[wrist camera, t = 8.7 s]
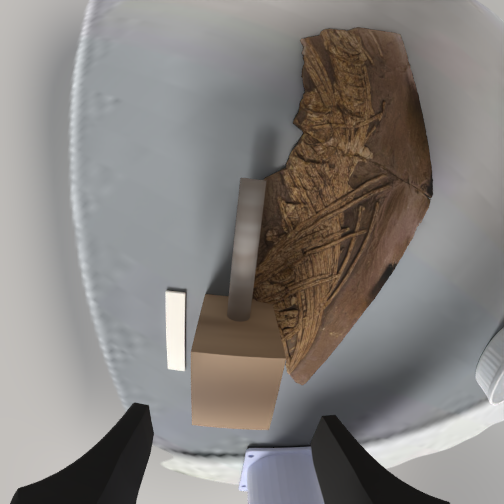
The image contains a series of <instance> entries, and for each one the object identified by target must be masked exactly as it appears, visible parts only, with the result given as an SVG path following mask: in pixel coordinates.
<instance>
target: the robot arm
mask: <svg viewBox="0 0 504 504" xmlns="http://www.w3.org/2000/svg"><path fill="white" fill-rule="evenodd" d="M153 436H154V432H153V427H152V422H151V416H150V410H149V405H144V404H139V403H133V404H132V405H131V407H130V408H129V409H128V410H127V412H126V413H125V414H124V415H123V417H122V418H121V419H120V420H119V421H118V422H117V424H116V425H115V426H114V427H113V428H112V429H111V430H110V431H109V432H108V433H107V434H106V435H105V437H103V439H101V440H100V441H99V442H98V443H97V444H96V445H95V446H94V447H93V448H92V449H90V450H89V451H88V452H87V453H86V454H84V455H83V456H82V457H81V458H79V459H78V460H76V461H75V462H74V463H72V464H71V465H69V466H67V467H66V468H64V469H63V470H61V471H59V472H57V473H56V474H53V475H52V476H49V477H47V478H45V479H43V480H41V481H38V482H36V483H33V484H30V485H27V486H24V487H21V488H18V489H17V491H16V493H15V494H14V496H13V498H12V501H11V503H10V504H136V500H137V495H138V491H139V488H140V485H141V482H142V478H143V475H144V472H145V469H146V466H147V463H148V459H149V456H150V452H151V447H152V441H153ZM239 490H240V491H247V492H248V504H450V503H449V502H447V501H444V500H441V499H438V498H435V497H432V496H430V495H428V494H425V493H423V492H421V491H419V490H417V489H415V488H413V487H412V486H410V485H408V484H406V483H405V482H403V481H401V480H400V479H398V478H397V477H395V476H394V475H393V474H391V473H390V472H389V471H387V470H386V469H385V468H384V467H383V466H381V465H380V464H379V463H378V462H377V461H376V460H375V459H374V458H373V457H372V456H371V455H370V454H369V453H368V452H367V451H366V450H365V449H364V448H363V447H362V446H361V445H360V444H359V443H358V442H357V440H356V439H355V438H354V437H353V436H352V435H351V433H350V432H349V431H348V430H347V429H346V427H345V426H344V425H343V424H342V423H341V421H340V420H339V419H338V418H337V416H336V415H329V416H322V417H321V420H320V422H319V424H318V427H317V429H316V432H315V434H314V436H313V438H312V441H311V446H310V447H292V448H248V449H247V450H246V453H245V458H244V463H243V468H242V473H241V478H240V483H239Z"/></svg>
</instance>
